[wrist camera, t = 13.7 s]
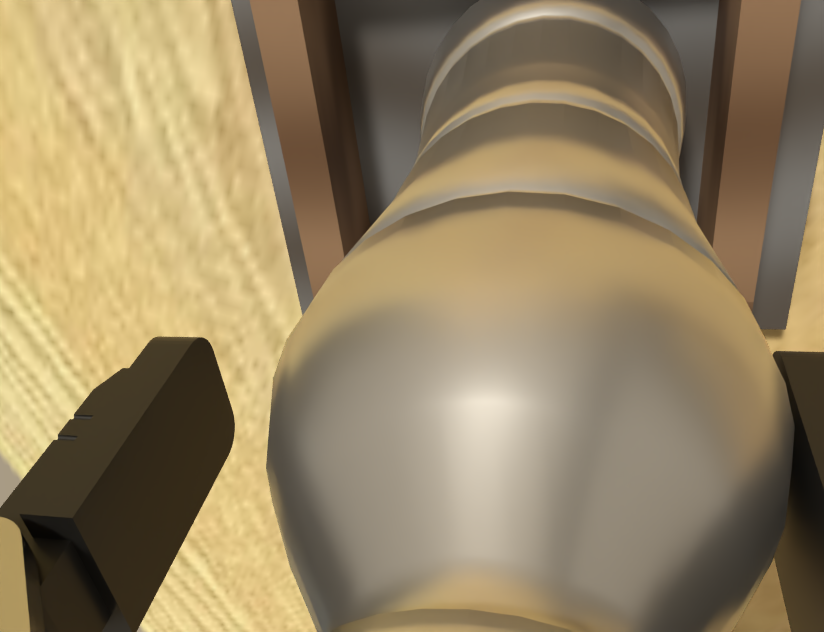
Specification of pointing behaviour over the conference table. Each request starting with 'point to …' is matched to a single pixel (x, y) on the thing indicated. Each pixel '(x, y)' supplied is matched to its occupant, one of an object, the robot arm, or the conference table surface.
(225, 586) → the conference table surface
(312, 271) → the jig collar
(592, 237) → the plastic bottle
